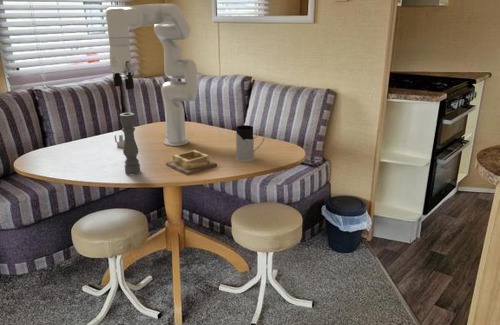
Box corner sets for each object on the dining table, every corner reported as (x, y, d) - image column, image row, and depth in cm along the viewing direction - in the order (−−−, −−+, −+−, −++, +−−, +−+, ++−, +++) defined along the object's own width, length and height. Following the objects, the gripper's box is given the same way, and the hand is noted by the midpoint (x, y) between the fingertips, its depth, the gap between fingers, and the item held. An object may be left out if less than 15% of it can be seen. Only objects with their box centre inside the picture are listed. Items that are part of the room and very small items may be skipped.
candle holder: (126, 169, 178) (120, 112, 170) (141, 169, 179) (136, 112, 170) (124, 175, 173) (117, 116, 164) (139, 174, 173) (133, 115, 165)
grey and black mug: (233, 157, 194) (232, 125, 189) (261, 153, 199) (261, 123, 194) (239, 163, 186) (238, 130, 181) (268, 159, 191) (268, 127, 186)
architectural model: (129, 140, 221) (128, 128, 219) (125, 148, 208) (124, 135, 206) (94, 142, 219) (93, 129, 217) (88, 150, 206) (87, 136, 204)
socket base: (166, 165, 184) (165, 155, 182) (196, 157, 194) (195, 147, 192) (186, 174, 173) (186, 164, 171) (217, 166, 183) (216, 155, 181)
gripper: (100, 41, 162) (105, 86, 167) (120, 43, 149) (125, 91, 155) (118, 41, 166) (122, 84, 172) (139, 43, 154) (143, 89, 160)
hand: (124, 87), depth 164 cm, fingers open, 9 cm apart
